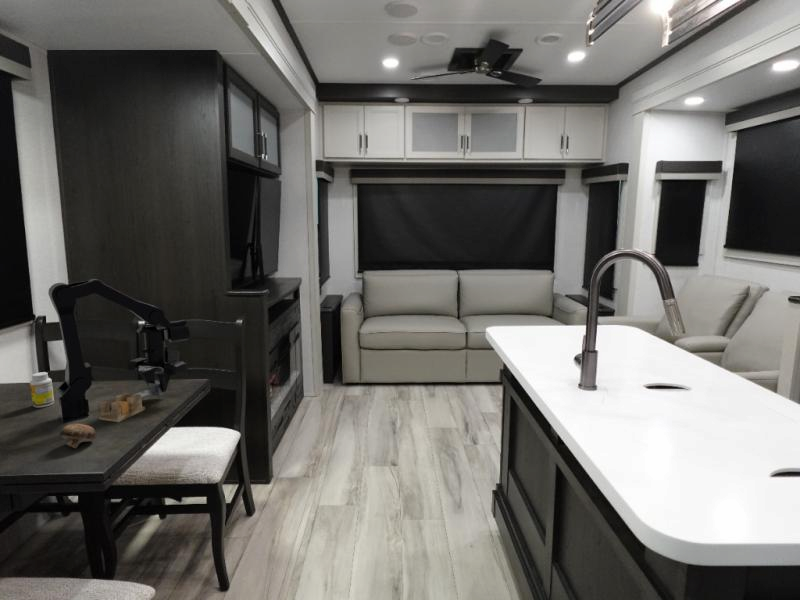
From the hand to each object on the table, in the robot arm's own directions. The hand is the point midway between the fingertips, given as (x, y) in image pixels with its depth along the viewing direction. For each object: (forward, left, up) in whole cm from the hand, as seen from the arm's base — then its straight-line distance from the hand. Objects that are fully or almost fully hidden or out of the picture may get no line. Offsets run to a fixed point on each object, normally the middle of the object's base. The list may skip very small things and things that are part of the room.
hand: (158, 391), depth 164 cm
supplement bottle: (-29, +19, -3) cm, 34 cm away
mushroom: (-27, -22, -3) cm, 35 cm away
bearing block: (-13, -7, -2) cm, 15 cm away
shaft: (-5, -3, -1) cm, 5 cm away
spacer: (-13, -8, -1) cm, 15 cm away
